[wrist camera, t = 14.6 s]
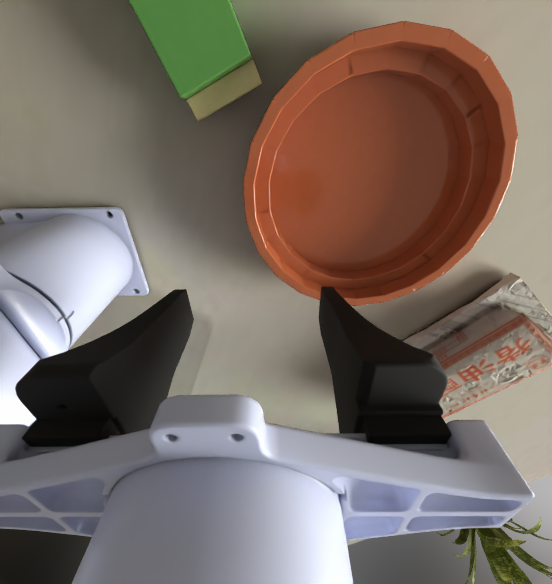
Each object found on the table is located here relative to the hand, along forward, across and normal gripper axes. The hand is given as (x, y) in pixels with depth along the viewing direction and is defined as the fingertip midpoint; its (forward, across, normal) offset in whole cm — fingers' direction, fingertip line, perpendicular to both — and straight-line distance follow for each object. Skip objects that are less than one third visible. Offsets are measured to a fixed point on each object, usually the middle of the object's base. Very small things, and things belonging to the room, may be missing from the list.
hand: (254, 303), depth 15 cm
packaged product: (+10, -19, +13) cm, 25 cm away
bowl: (+9, -7, -4) cm, 12 cm away
